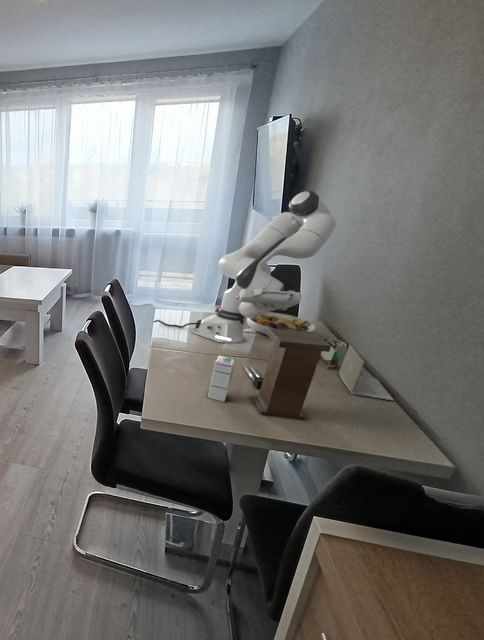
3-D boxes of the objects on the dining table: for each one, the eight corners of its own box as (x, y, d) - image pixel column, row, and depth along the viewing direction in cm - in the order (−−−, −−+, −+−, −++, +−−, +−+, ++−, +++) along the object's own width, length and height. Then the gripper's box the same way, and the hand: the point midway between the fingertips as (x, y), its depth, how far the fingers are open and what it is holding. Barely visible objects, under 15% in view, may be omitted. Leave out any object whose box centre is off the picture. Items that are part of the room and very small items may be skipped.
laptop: (393, 401, 146) (408, 368, 141) (350, 394, 150) (363, 362, 145) (376, 380, 161) (389, 349, 156) (338, 374, 166) (349, 344, 160)
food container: (345, 371, 168) (354, 349, 164) (329, 370, 169) (337, 347, 165) (331, 359, 179) (338, 337, 175) (315, 357, 180) (322, 336, 176)
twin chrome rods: (242, 367, 169) (244, 361, 168) (253, 369, 168) (255, 362, 167) (256, 388, 153) (258, 381, 152) (269, 390, 152) (271, 382, 151)
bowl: (244, 317, 229) (248, 303, 226) (308, 326, 217) (312, 312, 214) (245, 334, 204) (249, 319, 201) (317, 346, 193) (322, 330, 189)
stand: (248, 396, 148) (267, 328, 137) (290, 400, 145) (313, 331, 135) (259, 414, 136) (281, 341, 126) (306, 420, 134) (332, 346, 123)
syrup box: (224, 402, 143) (234, 364, 137) (206, 397, 146) (215, 360, 140) (227, 395, 148) (236, 358, 142) (209, 390, 150) (218, 354, 145)
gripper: (234, 291, 164) (247, 281, 150) (290, 295, 160) (309, 285, 147) (233, 306, 163) (246, 297, 150) (289, 310, 159) (308, 302, 146)
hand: (277, 291), depth 148 cm, fingers open, 8 cm apart
